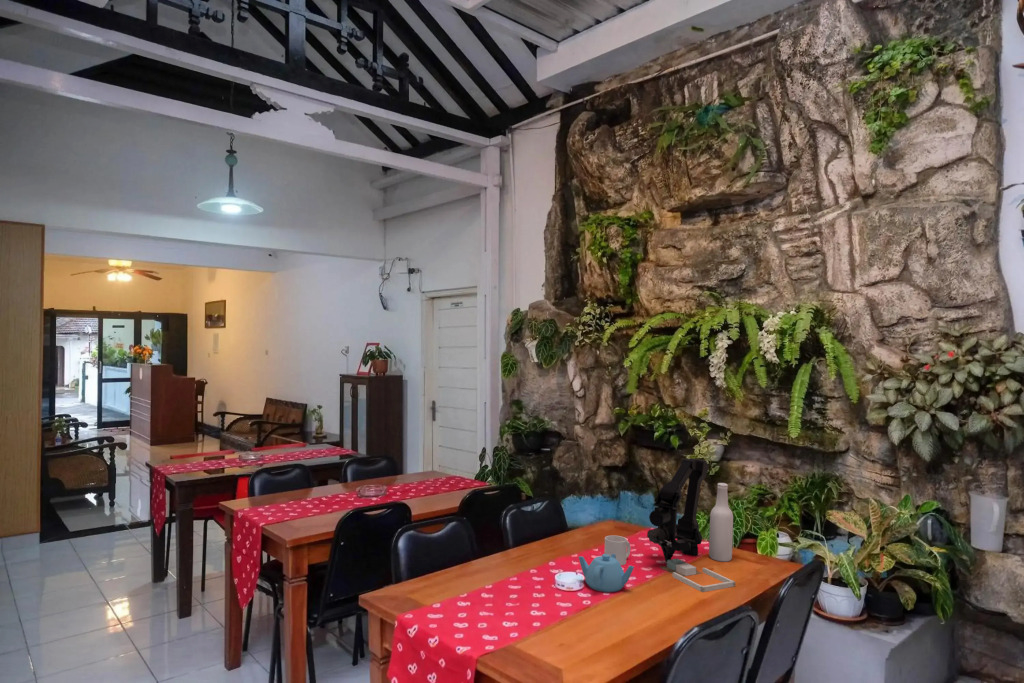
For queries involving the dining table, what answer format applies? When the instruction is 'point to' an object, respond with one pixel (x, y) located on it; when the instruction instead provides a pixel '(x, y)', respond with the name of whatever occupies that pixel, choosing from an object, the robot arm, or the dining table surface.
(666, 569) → the board
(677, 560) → the sage green block
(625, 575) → the teapot
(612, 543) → the mug
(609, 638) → the dining table surface
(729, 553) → the alcohol
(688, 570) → the white tile
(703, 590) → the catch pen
